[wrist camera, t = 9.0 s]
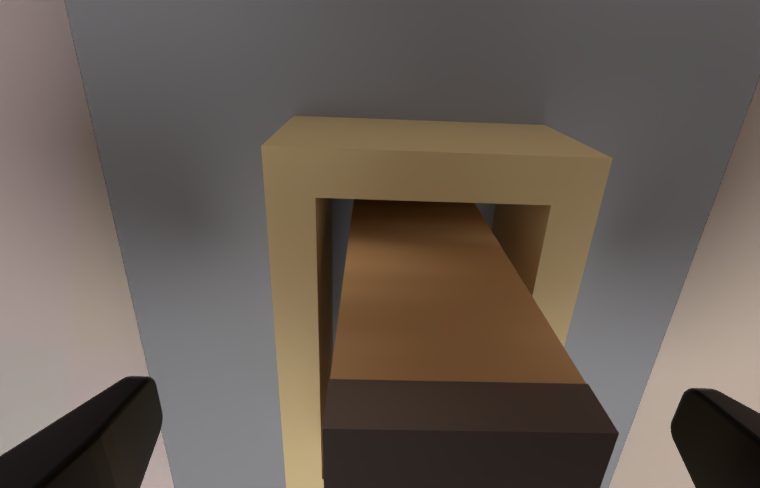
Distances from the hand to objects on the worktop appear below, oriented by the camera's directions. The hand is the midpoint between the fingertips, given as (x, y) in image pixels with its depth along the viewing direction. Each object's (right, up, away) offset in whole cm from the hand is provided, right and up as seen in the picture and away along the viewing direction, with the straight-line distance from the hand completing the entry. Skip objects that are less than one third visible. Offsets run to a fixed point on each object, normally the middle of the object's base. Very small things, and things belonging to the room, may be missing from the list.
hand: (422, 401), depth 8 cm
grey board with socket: (0, +2, +5) cm, 5 cm away
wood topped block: (0, +2, +4) cm, 4 cm away
